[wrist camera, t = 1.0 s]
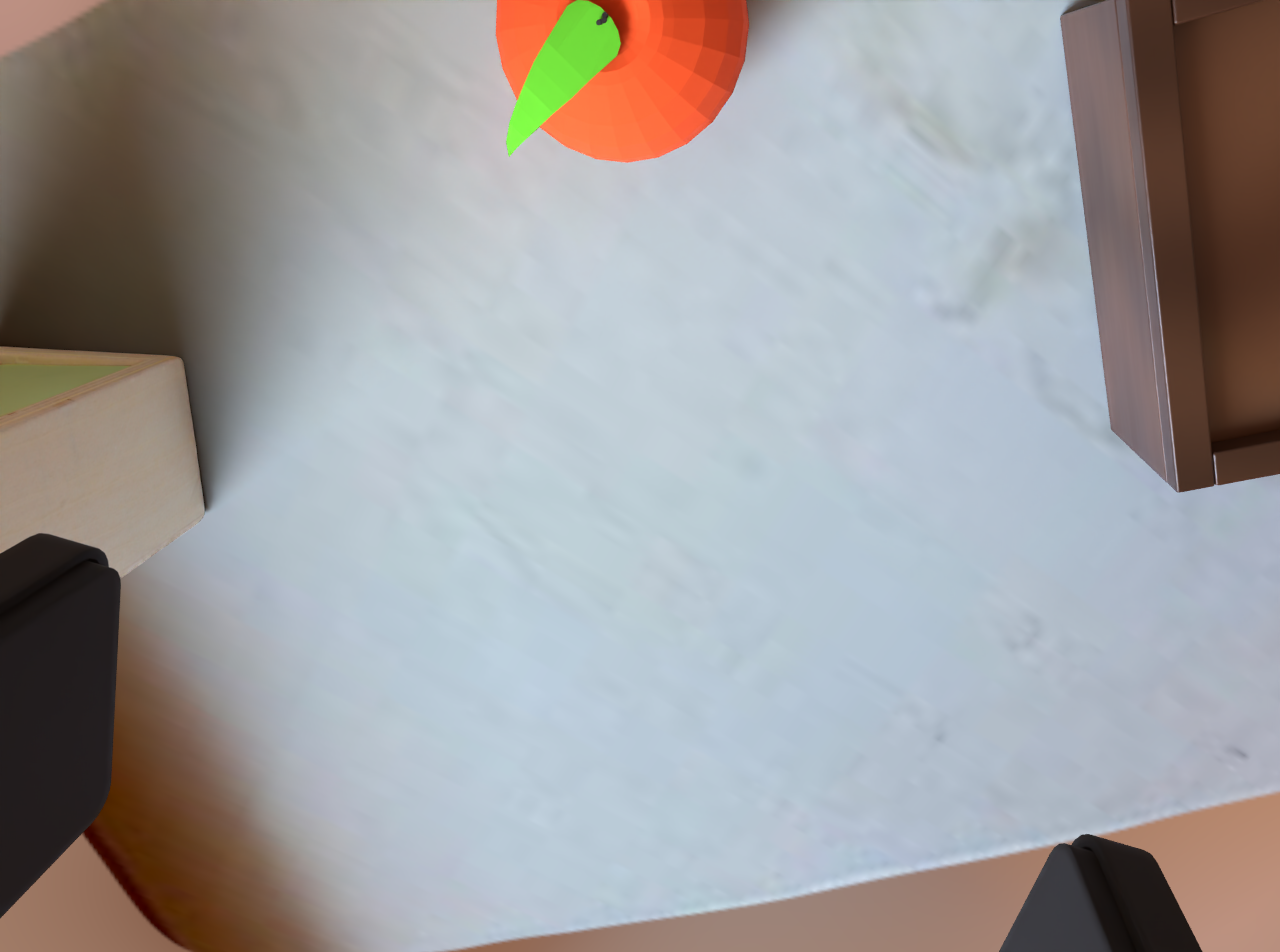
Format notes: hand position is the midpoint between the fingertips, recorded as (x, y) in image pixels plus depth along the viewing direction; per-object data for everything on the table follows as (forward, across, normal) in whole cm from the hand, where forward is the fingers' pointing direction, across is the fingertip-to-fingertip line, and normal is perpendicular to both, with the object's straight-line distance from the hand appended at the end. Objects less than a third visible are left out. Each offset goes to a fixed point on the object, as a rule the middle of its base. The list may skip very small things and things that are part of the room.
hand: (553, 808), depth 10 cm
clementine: (+25, +5, -7) cm, 27 cm away
